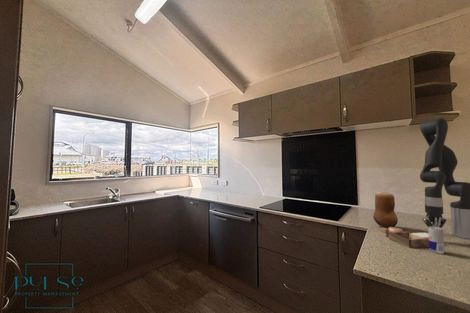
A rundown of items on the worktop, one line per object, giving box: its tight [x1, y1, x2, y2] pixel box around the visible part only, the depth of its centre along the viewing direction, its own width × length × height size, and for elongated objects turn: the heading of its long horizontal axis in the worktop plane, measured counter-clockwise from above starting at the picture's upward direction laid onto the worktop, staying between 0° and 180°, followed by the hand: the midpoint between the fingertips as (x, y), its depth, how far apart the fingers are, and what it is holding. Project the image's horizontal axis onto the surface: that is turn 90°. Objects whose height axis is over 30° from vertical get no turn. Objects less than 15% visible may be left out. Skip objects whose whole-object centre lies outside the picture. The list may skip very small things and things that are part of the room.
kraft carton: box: [410, 232, 429, 239], centre depth 111 cm, size 9×7×4 cm
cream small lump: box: [388, 226, 404, 232], centre depth 122 cm, size 7×7×4 cm
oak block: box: [378, 227, 389, 237], centre depth 123 cm, size 4×4×4 cm
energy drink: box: [427, 226, 445, 255], centre depth 99 cm, size 5×5×12 cm
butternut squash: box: [372, 191, 399, 229], centre depth 137 cm, size 14×13×25 cm
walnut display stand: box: [388, 231, 429, 249], centre depth 110 cm, size 12×12×4 cm
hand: (435, 235), depth 112 cm, fingers closed
